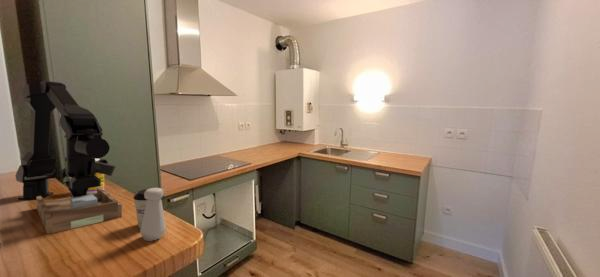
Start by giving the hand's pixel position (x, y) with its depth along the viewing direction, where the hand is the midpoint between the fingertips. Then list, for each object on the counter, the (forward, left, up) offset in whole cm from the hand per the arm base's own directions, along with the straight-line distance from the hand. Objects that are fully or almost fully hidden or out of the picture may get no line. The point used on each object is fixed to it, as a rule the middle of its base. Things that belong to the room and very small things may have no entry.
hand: (80, 204), depth 75 cm
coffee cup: (+9, +21, -3) cm, 24 cm away
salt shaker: (+17, +25, -3) cm, 31 cm away
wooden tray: (-2, -2, -3) cm, 4 cm away
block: (+4, +3, -1) cm, 5 cm away
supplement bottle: (-24, -9, -3) cm, 26 cm away
